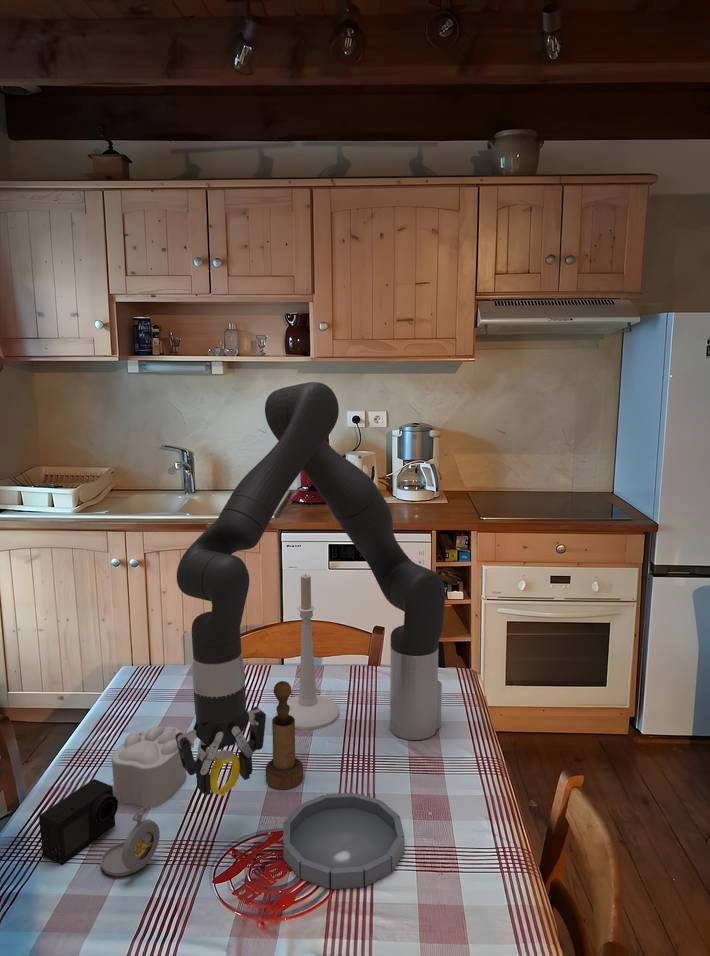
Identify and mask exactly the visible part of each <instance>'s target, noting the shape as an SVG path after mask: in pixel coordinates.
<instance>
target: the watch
mask: <svg viewBox="0 0 710 956" xmlns="http://www.w3.org/2000/svg"><path fill="white" fill-rule="evenodd" d="M230 762H231V765H232V766H231V772H230V776H229V778H228V780H227V782H226V783H224V785H222V787H221V788H219V787H218V779H219V774H220V771H221V769H222V768H223V765H224V764H228V763H230ZM210 769H211V770H210V772H209V773H210V787H211V794H216V795H218V796H221V797H224V796H225V795H226V794H227V793H228V792H229V791H230V790H232V789H233V788H234V787H235V786H236V784H237V782H238V780H239V776H240V760H239V756H238V755H237V754H234V752H233V751H231V750H229V749H228V750H227V749H221V750H218V751H217V752H216V755H215V758H214V763H213V765H212V766H211V768H210Z"/></svg>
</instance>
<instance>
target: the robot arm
mask: <svg viewBox="0 0 710 956" xmlns="http://www.w3.org/2000/svg"><path fill="white" fill-rule="evenodd" d="M264 413H265V414H264V416H265V420H266V422H267V425H268V428H269V429H270V431H271V433H272V434H273V436H274V437H275V438H276V440H277V443H276V444H275V445H274V446H273V448H272V449H271V450H270V451H269V452H268V453H267V454H266V455H265V456H264V457H263V458H262V459H261V460H260V461H259V462H258V463H257V464H256V465H254V467H253V468H252V469H250V471H249V472H248V473H247V474H245V476H244V477H243V478H242V479H241V480H240V482H238V484H237V486H236V487H235V488H234V490H233V491H232V493H231V495H230V497H229V498H228V500H227V501H226V504H225V505H224V506H223V508H222V510H221V512H220V514H219V515H218V517H217V519H216V520H215V521H214V522H213V523H212V524H210V525H209V526H208V528H207V529H206V530H204V532H203V533H201V535H200V536H199V537H198V538H197V539H196V540H195V541H194V542H193V543H192V544H191V545H190V546H189V547H188V548H187V549H186V551H185V552H184V554H183V555H182V557H181V559H180V560H179V563H178V566H177V570H176V583H177V587H178V588H179V590H180V591H181V593H183V594H184V595H186V596H188V597H191V598H196V599H199V600H204V601H208V602H210V603H211V611H206V612H203V613H200V614H198V615H196V617H195V618H194V620H193V621H192V623H191V643H192V647H191V648H192V656H193V657H192V670H191V671H192V673H191V674H192V686H193V687H192V689H193V700H194V701H193V702H194V712H195V724H194V726H193V727H192V730H188V732H185V733H183V732H182V733H178V734H177V735H176V737H175V738H176V742H177V746H178V750H179V754H180V758H181V762H182V766H183V767H184V769H186V773H187V774H188V775H189V776H194V775H196V776H195V777H196V786H197V789H198V790H199V792H200V793H201V794H203V795H205V797H208V796H209V795H211V794H212V791H211V787H210V772H209V769H210V766H211V763H212V761H215V755H216V753H217V752H219V751H222V750H223V749H224V748H225V747H231V746H234V745H236V747H237V749H238V750H239V751H240V752H238V755H237V757H238V758H239V760H240V773H239V776H240V777H241V778H242V779H243V780H244V781H246V780H249V779H250V777H251V776H250V775H252V774H253V757H252V756H253V755H254V753H255V752H256V751H257V750H258V751H260V750H262V748H263V747H264V739H265V730H266V720H267V713H265V711H263V710H262V709H261V708H259V707H258V706H254V707H253V708H252V710H247V699H246V698H247V697H246V696H247V695H246V693H247V692H246V672H245V671H246V670H245V663H244V658H243V652H242V639H241V638H242V635H241V632H242V631H241V624H242V621H243V616H244V611H245V605H246V602H247V597H248V593H249V587H250V574H249V573H250V572H249V570H248V568H247V565H246V564H245V562H244V561H243V560H242V559H241V558H240V557H239V556H236V555H234V553H236V552H239V551H246V550H251V549H253V548H255V547H256V546H257V545H258V543H260V542H259V541H260V540H261V538H262V536H263V535H264V533H265V530H266V529H267V527H269V524H270V522H271V520H272V519H273V517H274V514H275V512H276V510H277V508H278V507H279V505H280V503H281V501H283V500H282V499H283V498H284V496H286V493H287V492H288V490H289V489H290V487H291V486H292V485H293V483H294V482H295V481H296V479H297V478H298V476H299V475H300V473H301V472H302V471H303V472H304V473H305V475H306V476H307V477H308V480H309V481H310V482H311V483H312V485H313V486H314V487H315V489H316V490H317V492H318V493H319V495H320V497H322V499H323V501H324V502H325V504H326V505H327V506H328V509H329V510H330V512H331V513H332V515H333V516H334V518H335V519H336V521H337V522H338V524H339V526H340V527H341V529H342V530H343V531H344V532H345V534H346V535H347V537H348V538H349V539H350V540H351V542H352V544H353V545H354V547H355V548H356V550H357V551H358V552H359V553H360V555H361V556H362V558H364V560H365V561H366V563H367V565H368V567H369V569H370V570H371V573H372V574H373V577H374V578H375V580H376V582H377V584H378V587H379V588H380V591H381V592H382V594H383V596H384V597H385V599H386V600H387V602H388V603H389V604H390V605H392V606H393V607H395V608H396V609H399V610H401V611H402V612H404V618H403V625H399V626H397V627H395V628H394V629H393V630H392V631H391V633H390V671H389V672H390V688H389V689H390V693H389V694H390V696H389V697H390V698H389V700H390V703H389V706H390V707H389V720H390V721H389V727H390V731H391V732H392V734H394V735H395V736H397V737H398V738H401V739H404V740H410V741H421V740H426V739H429V738H431V737H432V736H434V735H435V734H436V733H437V730H438V729H441V728H442V692H443V691H442V690H443V688H442V685H443V684H442V682H441V681H440V680H439V641H440V640H441V639H440V638H441V636H442V634H443V629H444V620H445V619H444V618H445V607H446V589H445V587H446V586H445V583H444V580H443V578H442V576H441V574H439V573H438V572H436V571H433V570H432V569H430V568H427V567H425V566H422V565H420V564H417V563H415V562H414V561H412V559H410V557H409V556H408V555H407V554H406V552H405V551H404V550H403V548H402V547H401V546H400V544H399V543H398V540H397V539H396V536H395V534H394V524H393V523H394V522H393V521H394V520H393V516H392V512H391V509H390V507H389V506H390V505H389V504H388V502H387V501H386V499H385V498H384V495H383V494H382V492H381V491H380V489H379V488H378V486H377V485H376V483H375V482H374V480H373V478H371V477H370V476H369V475H368V474H367V473H366V472H364V471H363V470H362V469H361V468H359V467H358V466H357V465H355V464H354V463H353V462H351V461H350V460H348V459H347V458H345V457H344V456H343V455H341V454H340V453H339V452H337V451H336V450H335V449H334V448H333V447H332V446H331V445H330V443H329V442H328V441H326V439H327V438H328V437H329V436H330V434H331V433H332V431H333V429H334V428H335V426H336V424H337V422H338V418H339V413H340V406H339V402H338V397H337V396H336V394H335V392H334V391H333V390H332V388H331V387H330V386H328V385H327V384H325V383H324V382H323V383H322V382H317V381H313V382H311V381H310V382H305V383H303V382H302V383H299V384H294V385H289V386H285V387H281V388H279V389H278V388H277V389H276V390H274V391H272V392H271V393H270V394H269V395H268V396H267V398H266V401H265V404H264ZM248 722H249V723H250V727H249V736H248V737H249V738H248V740H247V738H246V737H245V736H244V734H243V733H244V730H245V728H246V726H247V724H248ZM197 738H198V739H199V744H198V746H197V754H196V757H195V758H194V754H193V751H192V749H193V748H194V745H195V740H196V739H197Z"/></svg>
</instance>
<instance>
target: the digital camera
mask: <svg viewBox="0 0 710 956" xmlns="http://www.w3.org/2000/svg"><path fill="white" fill-rule="evenodd" d="M118 809H119V802H118V800H117V798H116V797H115V796H114V785H111V784H108V783H105V782H103V781H100V780H98V779H95V778H94V779H92V780H90V781H89V782H87V783H85V784H84V785H82V786H81V787H79V788H78V789H76V790H74V792H72V793H71V794H68V795H67V796H66V797H65V798H63V799H60V800H59V801H58V802H57V803H55V804H54V805H52V806H50V807H49V808H48V809H46V810H45V811H43V812H42V813H40V814H39V815H38V820H39V821H38V822H39V823H38V824H39V833H40V842H41V851H42V857H43V858H46V859H48V860H50V861H52V862H54V863H56V864H58V865H59V866H63V865H65V864H66V863H68V862H69V861H70V860H71V859H72V858H74V857H75V856H77V855H78V854H79V853H81V852H82V851H83V850H85V849H86V848H87V847H89V846H90V845H91V844H93V843H94V842H96V840H98V839H100V838H101V837H102V836H103V835H105V834H106V833H107V832H108V831H110V830H111V829H112V828H113V827H115V826H116V815H117V812H118Z"/></svg>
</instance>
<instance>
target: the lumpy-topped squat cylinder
mask: <svg viewBox="0 0 710 956" xmlns="http://www.w3.org/2000/svg"><path fill="white" fill-rule="evenodd" d="M178 733H183V731H181V730H180V729H179V728H177V727H176V726H170V725H169V726H168V725H167V726H166V725H164V726H153V727H150V728H149V729H145V730H143V731H140V732H138V733H137V732H132V733H130V734H128V735H127V736H126V737H125V740H124V742H123V743H122V744H121V745H120V746H119V747H118V748H117V749H116V750H115V751H114V752H113V754H112V755H111V764H112V765H111V766H112V768H111V769H112V778H113V779H112V781H113V784H112V785H113V796H115V797H116V798H117V800H118V803H124V804H132V805H137V806H139V807H141V808H143V807H146V809H147V808H149V809H150V808H155V807H159V806H161V805H163V804H165V803H167V802H168V801H169V800H171V798H172V797H173V796H175V795H176V794H177V793H178V791H180V789H181V788H182V787H183V785H185V783H186V780H187V771H186V769H184V767H183V766H182V762H181V758H180V754H179V750H178V746H177V742H176V738H175V737H176V735H177V734H178Z"/></svg>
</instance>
